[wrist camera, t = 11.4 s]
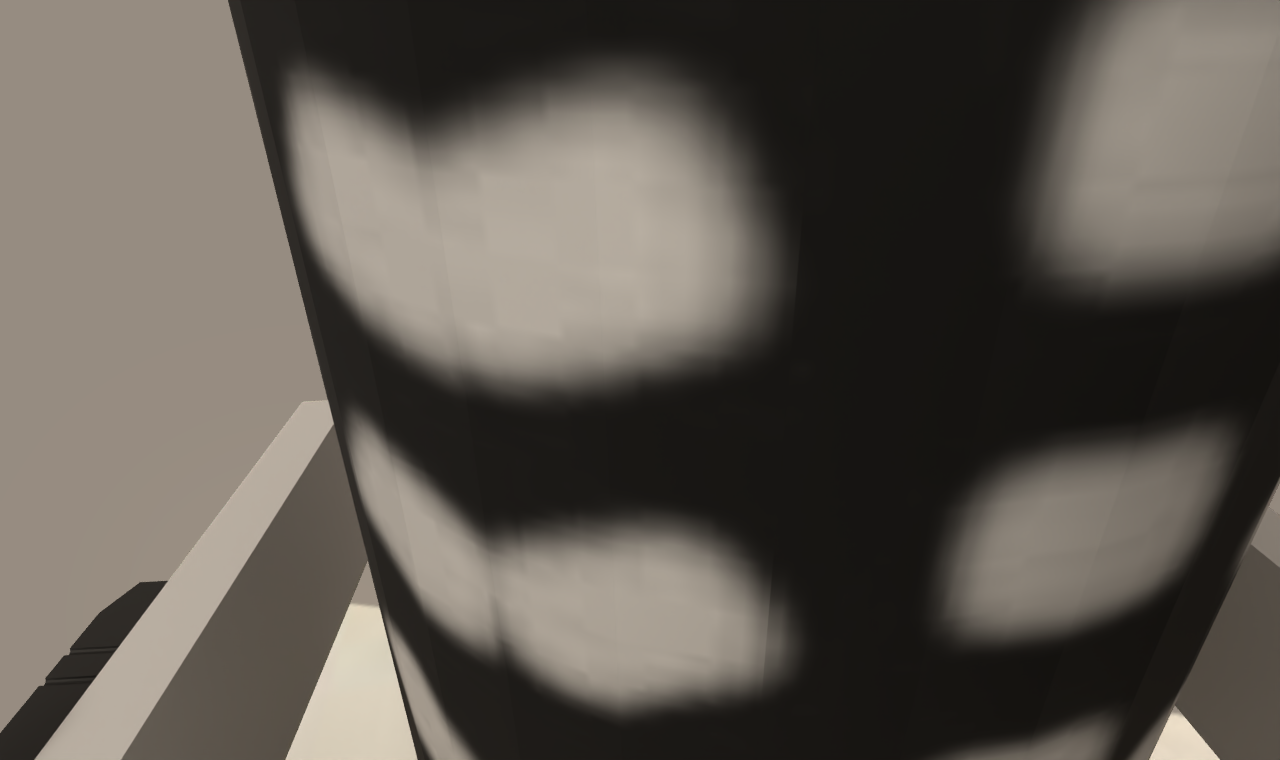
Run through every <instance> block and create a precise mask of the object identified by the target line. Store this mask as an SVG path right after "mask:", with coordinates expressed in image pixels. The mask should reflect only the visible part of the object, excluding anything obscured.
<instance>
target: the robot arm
mask: <svg viewBox="0 0 1280 760" xmlns="http://www.w3.org/2000/svg"><path fill="white" fill-rule="evenodd" d="M367 561H368V558H367V554H366V550H365V546H364V542H363V538H362V534H361V530H360V526H359V522H358V518H357V514H356V510H355V506H354V502H353V498H352V494H351V490H350V486H349V482H348V478H347V474H346V470H345V466H344V462H343V458H342V454H341V450H340V446H339V442H338V438H337V434H336V430H335V426H334V422H333V418H332V414H331V410H330V406H329V402H328V400H327V401H305V402H302V403H301V404H300V406H299V407H298V408H297V410H296V411H295V412H294V414H293V415H292V416H291V418H290V419H289V420H288V422H287V423H286V424H285V426H284V427H283V428H282V430H281V431H280V432H279V434H278V435H277V436H276V438H275V439H274V440H273V442H272V443H271V444H270V446H269V447H268V448H267V450H266V451H265V452H264V454H263V455H262V456H261V458H260V459H259V460H258V462H257V464H255V466H254V467H253V469H252V470H251V471H250V472H249V474H248V475H247V477H246V478H245V479H244V480H243V482H242V483H241V484H240V486H239V487H238V489H237V490H236V491H235V492H234V494H233V495H232V496H231V498H230V499H229V500H228V502H227V503H226V504H225V506H224V507H223V509H222V510H221V511H220V513H219V514H218V515H217V517H216V518H215V519H214V521H213V522H212V523H211V525H210V526H209V527H208V529H207V530H206V531H205V533H204V534H203V535H202V537H201V538H200V539H199V541H198V542H197V543H196V545H195V546H194V547H193V549H192V550H191V551H190V553H189V554H188V555H187V557H186V558H185V559H184V561H183V562H182V563H181V565H180V566H179V567H178V569H177V570H176V572H175V573H174V574H173V575H172V577H171V578H170V579H169V581H158V582H140V583H139V584H137V585H136V586H135V587H133V588H132V589H131V590H129V591H128V592H127V593H126V594H124V595H123V596H121V597H120V598H119V599H117V600H116V601H115V602H113V603H112V604H111V605H109V606H108V607H107V608H105V609H104V610H103V611H101V612H100V613H99V614H98V615H97V616H96V618H95V619H94V620H93V621H92V622H91V624H90V625H89V626H88V627H87V628H86V630H85V631H84V632H83V633H82V635H81V636H80V637H79V638H78V639H77V641H76V642H75V643H74V644H73V645H72V647H71V648H70V654H69V655H66V656H63V658H62V659H61V660H60V661H59V662H58V664H57V665H56V666H55V667H54V669H53V670H52V671H51V672H50V673H49V675H48V676H47V677H46V683H45V685H44V686H39V687H38V688H37V689H36V690H35V692H34V693H33V694H32V695H31V696H30V698H29V699H28V700H27V701H26V703H25V704H24V705H23V706H22V707H21V709H20V710H19V711H18V712H17V713H16V715H15V716H14V717H13V718H12V720H11V721H10V722H9V723H8V724H7V726H6V727H5V728H4V729H3V730H2V732H1V733H0V760H285V759H286V757H287V754H288V752H289V749H290V747H291V744H292V742H293V740H294V737H295V735H296V732H297V730H298V728H299V725H300V723H301V720H302V718H303V715H304V713H305V711H306V708H307V706H308V703H309V701H310V699H311V696H312V694H313V691H314V689H315V687H316V684H317V682H318V679H319V677H320V674H321V672H322V670H323V667H324V665H325V662H326V660H327V658H328V655H329V653H330V650H331V648H332V645H333V643H334V641H335V638H336V636H337V633H338V631H339V629H340V626H341V624H342V621H343V619H344V617H345V614H346V612H347V609H348V607H349V604H350V602H351V600H352V597H353V595H354V592H355V590H356V588H357V585H358V583H359V580H360V578H361V575H362V573H363V570H364V568H365V566H366V563H367ZM1175 706H1176V707H1177V708H1178V709H1179V711H1180V712H1181V713H1182V714H1183V715H1184V717H1185V718H1186V719H1187V720H1188V721H1189V723H1190V724H1191V725H1192V726H1193V727H1194V729H1195V730H1196V731H1197V732H1198V733H1199V735H1200V736H1201V737H1202V738H1203V739H1204V741H1205V742H1206V743H1207V744H1208V745H1209V747H1210V748H1211V749H1212V750H1213V751H1214V753H1215V754H1216V755H1217V756H1218V757H1219V759H1220V760H1280V515H1279V514H1278V513H1276V512H1275V511H1274V510H1272V509H1271V508H1270V507H1268V509H1267V511H1266V513H1265V515H1264V517H1263V519H1262V522H1261V524H1260V526H1259V528H1258V530H1257V532H1256V534H1255V536H1254V538H1253V541H1252V543H1251V545H1250V547H1249V549H1248V551H1247V553H1246V555H1245V558H1244V560H1243V562H1242V564H1241V566H1240V568H1239V570H1238V572H1237V574H1236V577H1235V579H1234V581H1233V583H1232V585H1231V587H1230V589H1229V591H1228V593H1227V596H1226V598H1225V600H1224V602H1223V604H1222V606H1221V608H1220V610H1219V613H1218V615H1217V617H1216V619H1215V621H1214V623H1213V625H1212V627H1211V629H1210V632H1209V634H1208V636H1207V638H1206V640H1205V642H1204V644H1203V646H1202V648H1201V651H1200V653H1199V655H1198V657H1197V659H1196V661H1195V663H1194V665H1193V668H1192V670H1191V672H1190V674H1189V676H1188V678H1187V680H1186V682H1185V684H1184V687H1183V689H1182V691H1181V693H1180V695H1179V697H1178V699H1177V701H1176V703H1175Z"/></svg>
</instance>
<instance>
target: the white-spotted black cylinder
mask: <svg viewBox="0 0 1280 760" xmlns="http://www.w3.org/2000/svg"><path fill="white" fill-rule="evenodd" d="M228 2H229V6H230V10H231V14H232V18H233V22H234V26H235V30H236V34H237V38H238V42H239V46H240V50H241V54H242V58H243V62H244V66H245V70H246V74H247V78H248V82H249V86H250V90H251V94H252V98H253V102H254V106H255V110H256V114H257V118H258V122H259V126H260V130H261V134H262V138H263V142H264V146H265V150H266V154H267V158H268V162H269V166H270V170H271V174H272V178H273V182H274V186H275V190H276V194H277V198H278V202H279V206H280V210H281V214H282V218H283V222H284V226H285V230H286V234H287V238H288V242H289V246H290V250H291V254H292V258H293V262H294V266H295V270H296V274H297V278H298V282H299V286H300V290H301V294H302V298H303V302H304V306H305V310H306V314H307V318H308V322H309V326H310V330H311V334H312V338H313V342H314V346H315V350H316V354H317V358H318V362H319V366H320V370H321V374H322V378H323V382H324V386H325V390H326V394H327V398H328V402H329V406H330V410H331V414H332V418H333V422H334V426H335V430H336V434H337V438H338V442H339V446H340V450H341V454H342V458H343V462H344V466H345V470H346V474H347V478H348V482H349V486H350V490H351V494H352V498H353V502H354V506H355V510H356V514H357V518H358V522H359V526H360V530H361V534H362V538H363V542H364V546H365V550H366V554H367V558H368V562H369V566H370V570H371V574H372V578H373V582H374V586H375V590H376V594H377V598H378V602H379V606H380V610H381V614H382V618H383V622H384V626H385V630H386V634H387V638H388V642H389V646H390V650H391V654H392V658H393V662H394V667H395V671H396V675H397V679H398V683H399V687H400V691H401V695H402V699H403V703H404V707H405V711H406V715H407V719H408V723H409V727H410V731H411V735H412V739H413V743H414V747H415V751H416V755H417V759H418V760H1149V758H1150V756H1151V754H1152V752H1153V750H1154V748H1155V746H1156V744H1157V742H1158V739H1159V737H1160V735H1161V733H1162V731H1163V729H1164V727H1165V725H1166V723H1167V720H1168V718H1169V716H1170V714H1171V712H1172V710H1173V708H1174V706H1175V703H1176V701H1177V699H1178V697H1179V695H1180V693H1181V691H1182V689H1183V687H1184V684H1185V682H1186V680H1187V678H1188V676H1189V674H1190V672H1191V670H1192V668H1193V665H1194V663H1195V661H1196V659H1197V657H1198V655H1199V653H1200V651H1201V648H1202V646H1203V644H1204V642H1205V640H1206V638H1207V636H1208V634H1209V632H1210V629H1211V627H1212V625H1213V623H1214V621H1215V619H1216V617H1217V615H1218V613H1219V610H1220V608H1221V606H1222V604H1223V602H1224V600H1225V598H1226V596H1227V593H1228V591H1229V589H1230V587H1231V585H1232V583H1233V581H1234V579H1235V577H1236V574H1237V572H1238V570H1239V568H1240V566H1241V564H1242V562H1243V560H1244V558H1245V555H1246V553H1247V551H1248V549H1249V547H1250V545H1251V543H1252V541H1253V538H1254V536H1255V534H1256V532H1257V530H1258V528H1259V526H1260V524H1261V522H1262V519H1263V517H1264V515H1265V513H1266V511H1267V509H1268V507H1269V505H1270V502H1271V500H1272V498H1273V496H1274V494H1275V492H1276V490H1277V488H1278V486H1279V483H1280V0H228Z"/></svg>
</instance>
